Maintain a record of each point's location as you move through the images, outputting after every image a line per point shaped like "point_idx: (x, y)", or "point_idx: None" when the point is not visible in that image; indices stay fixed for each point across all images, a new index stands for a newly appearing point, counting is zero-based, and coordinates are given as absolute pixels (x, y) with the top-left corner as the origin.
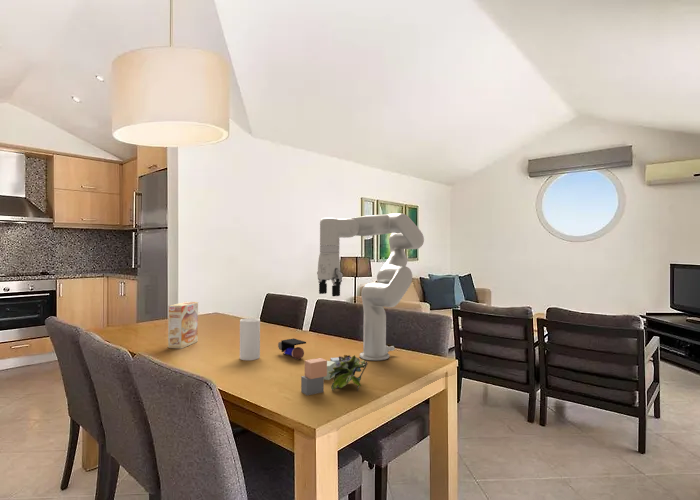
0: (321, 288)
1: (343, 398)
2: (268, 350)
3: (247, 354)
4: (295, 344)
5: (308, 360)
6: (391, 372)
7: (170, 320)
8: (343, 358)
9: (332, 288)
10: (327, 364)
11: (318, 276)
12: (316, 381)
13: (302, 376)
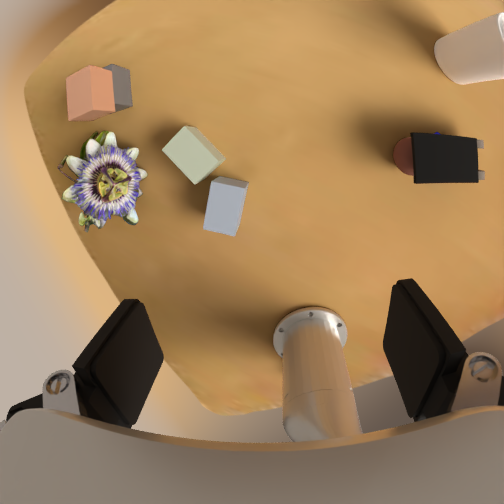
0: (412, 330)
1: (73, 142)
2: (493, 135)
3: (442, 39)
4: (412, 140)
5: (86, 74)
6: (180, 304)
7: None
8: (107, 180)
9: (92, 344)
10: (178, 151)
11: (494, 439)
12: None
13: (110, 66)
